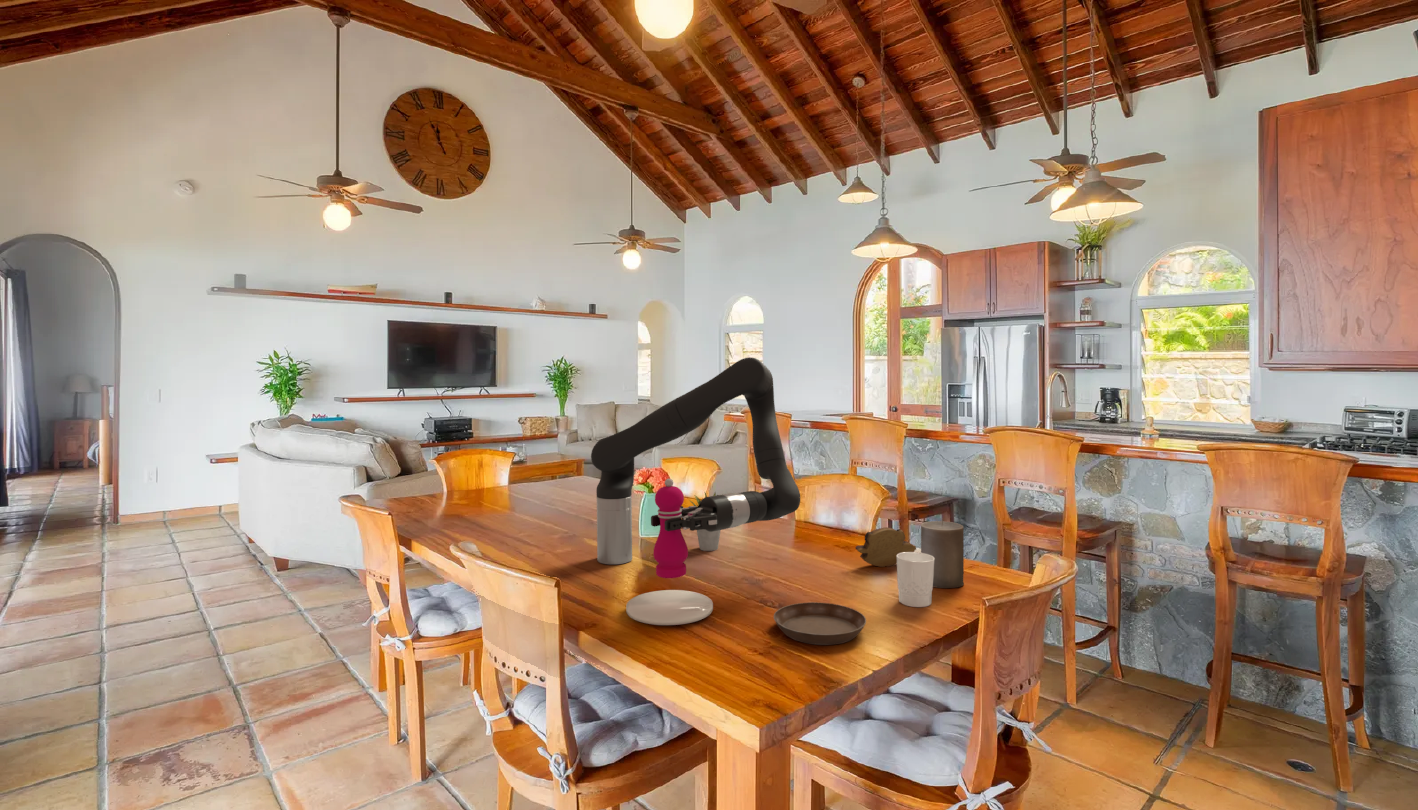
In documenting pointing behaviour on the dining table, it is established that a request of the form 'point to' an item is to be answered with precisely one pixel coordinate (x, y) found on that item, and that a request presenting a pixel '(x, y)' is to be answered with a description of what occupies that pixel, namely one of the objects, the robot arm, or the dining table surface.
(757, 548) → the dining table surface
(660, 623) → the plate
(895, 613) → the dining table surface
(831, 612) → the plant saucer
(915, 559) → the white cup
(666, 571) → the pepper mill
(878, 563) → the wooden carving
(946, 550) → the pillar candle
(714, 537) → the house plant
